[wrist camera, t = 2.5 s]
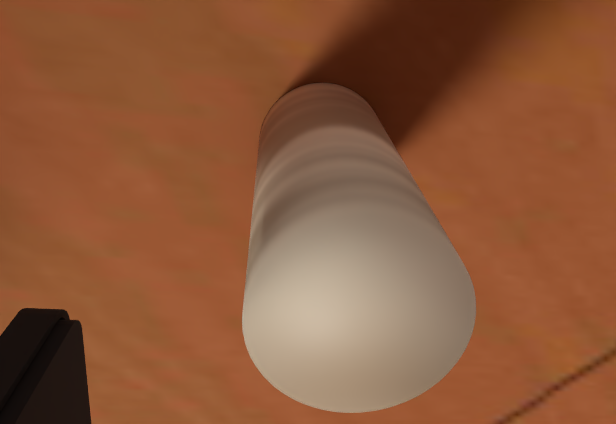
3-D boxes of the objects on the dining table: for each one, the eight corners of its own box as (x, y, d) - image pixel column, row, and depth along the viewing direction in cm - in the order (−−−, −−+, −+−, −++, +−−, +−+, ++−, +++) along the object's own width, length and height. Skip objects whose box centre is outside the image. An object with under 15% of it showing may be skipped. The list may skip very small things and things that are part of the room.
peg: (261, 78, 18) (244, 210, 9) (389, 86, 19) (496, 220, 9) (257, 198, 20) (239, 410, 11) (374, 203, 20) (454, 414, 11)
